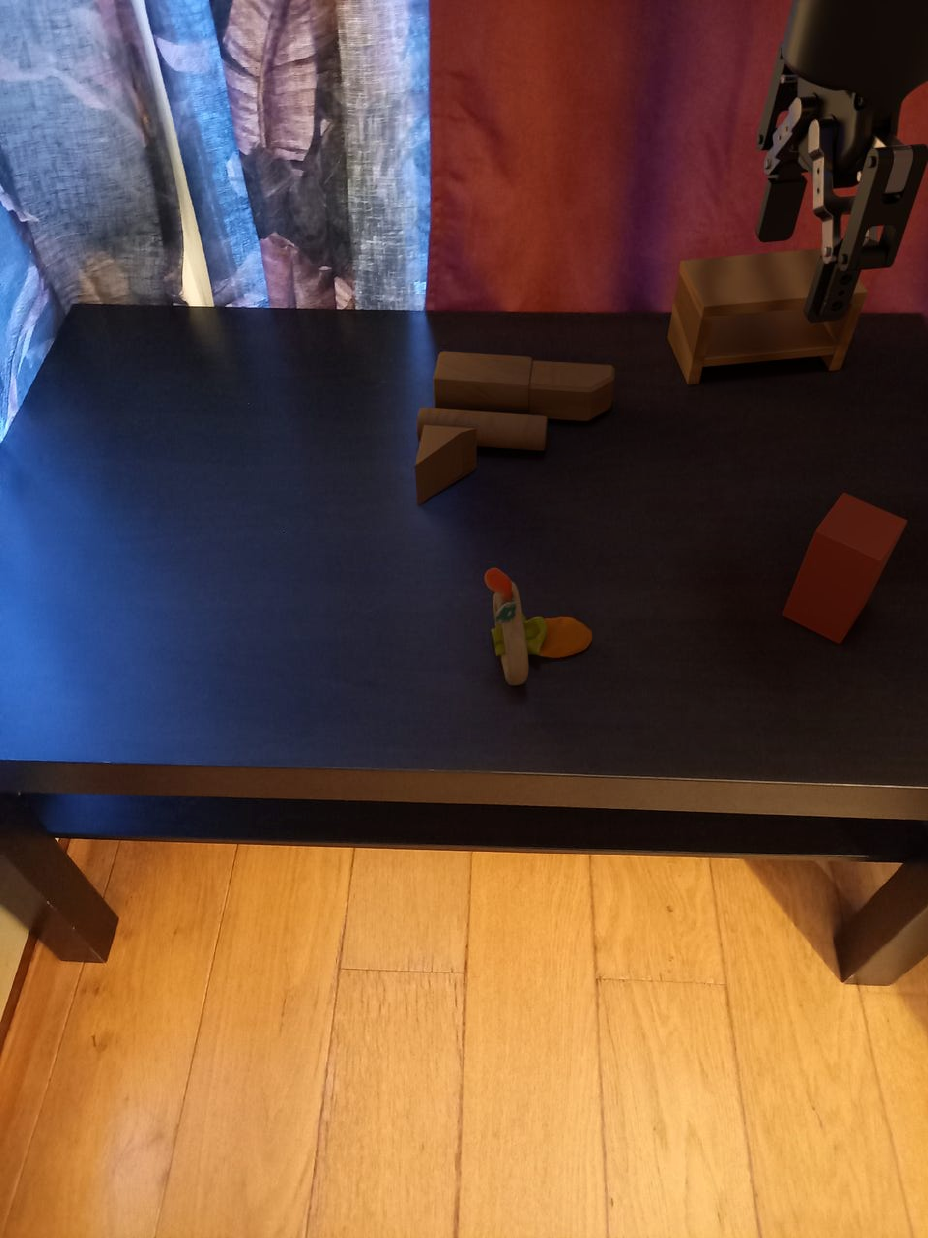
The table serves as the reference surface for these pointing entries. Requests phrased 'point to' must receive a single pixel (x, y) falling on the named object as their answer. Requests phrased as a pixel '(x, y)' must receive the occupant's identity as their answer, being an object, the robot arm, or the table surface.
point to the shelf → (753, 312)
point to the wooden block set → (499, 409)
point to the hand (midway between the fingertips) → (796, 276)
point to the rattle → (528, 631)
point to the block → (842, 566)
